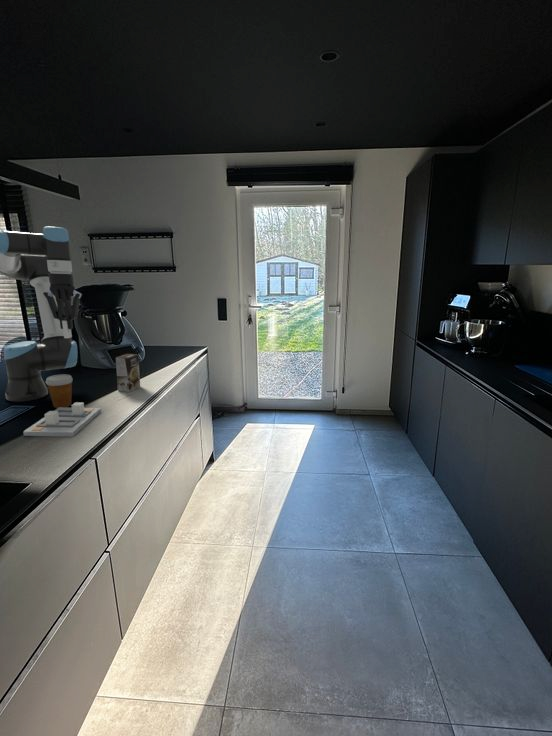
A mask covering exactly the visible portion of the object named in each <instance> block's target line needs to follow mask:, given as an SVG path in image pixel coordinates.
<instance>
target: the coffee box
mask: <svg viewBox="0 0 552 736" xmlns="http://www.w3.org/2000/svg"><path fill="white" fill-rule="evenodd" d="M139 361H140V360H139V353H138V354H137V353H124V354H122V355H119V356H116V357H115V367H116V370H115V371H116V381H117V391H121V392H127V393H130V392H132V391H134V390H136V389H138V388H140V387H141V377H140V375H141V374H140V362H139Z"/></svg>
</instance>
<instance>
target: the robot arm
mask: <svg viewBox="0 0 552 736" xmlns="http://www.w3.org/2000/svg"><path fill="white" fill-rule="evenodd" d="M42 229H43V230H42V233H35V232H34V233H33V232H31V233H30V232H22V231H21V232H20V231H10V230H3V229H0V274H1V275H2V276H5V277H8V278H9V279H12V280H19V281H29V285H31V287H33V288H34V290H35V291H34V292H35V295H36V300H37V305H38V306H37V307H38V311H39V316H40V320H41V326H42V332H43V337H42V339H41V340H40V341H41V343H37V341H35V340H27V341H26V340H25V341H19V342H13V343H11V344H8V345H6V346H5V347H4V349H3V359H4V360H5V361H4V362H5V369H6V374H7V381H8V382H7V385H6V388H5V393H4V394H5V399H6V400H7V401H9V402H14V403H15V402H20V403H21V402H29V401H34V400H38V399H42V398H44V397H47V396H48V394H49V389H48V386H46V385H47V384H46V382H45V381H44V380H43V378H42V374H41V372H42V371H51V370H53V371H54V370H61V369H67V368H72V367H76V365H77V363H78V344H77V342H76V341H75V340H72V337H73V335H72V329H74V323H73V320H74V319H75V320H76V319H78V316H79V310H80V309H79V308H80V301H81V298H82V296H83V293H81V292H79V291H77V290H76V288H75V286H74V276H73V274H72V273H73V266H72V265H73V264H72V258H71V248H70V237H69V231H68V230H67V228H64V227H59V226H44V227H43V228H42ZM72 296H73V300H72Z"/></svg>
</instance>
